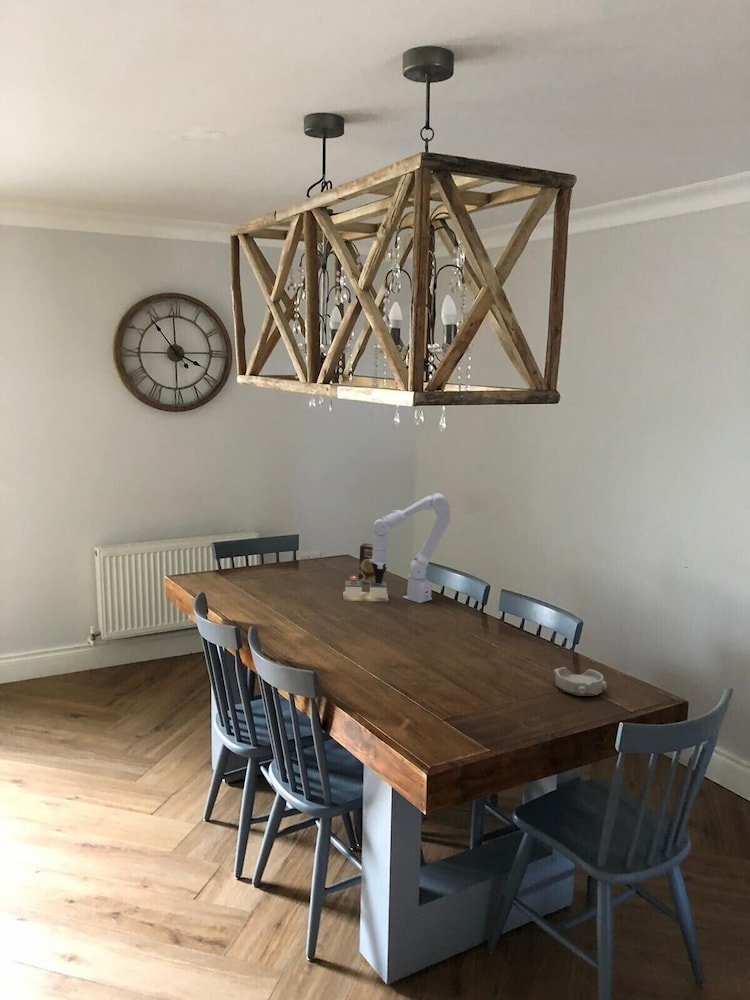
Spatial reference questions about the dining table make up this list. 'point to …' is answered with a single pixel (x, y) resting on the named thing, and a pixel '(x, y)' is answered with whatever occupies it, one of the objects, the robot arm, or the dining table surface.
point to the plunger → (354, 579)
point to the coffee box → (366, 564)
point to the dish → (580, 681)
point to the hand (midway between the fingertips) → (378, 581)
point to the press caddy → (356, 589)
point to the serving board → (364, 598)
